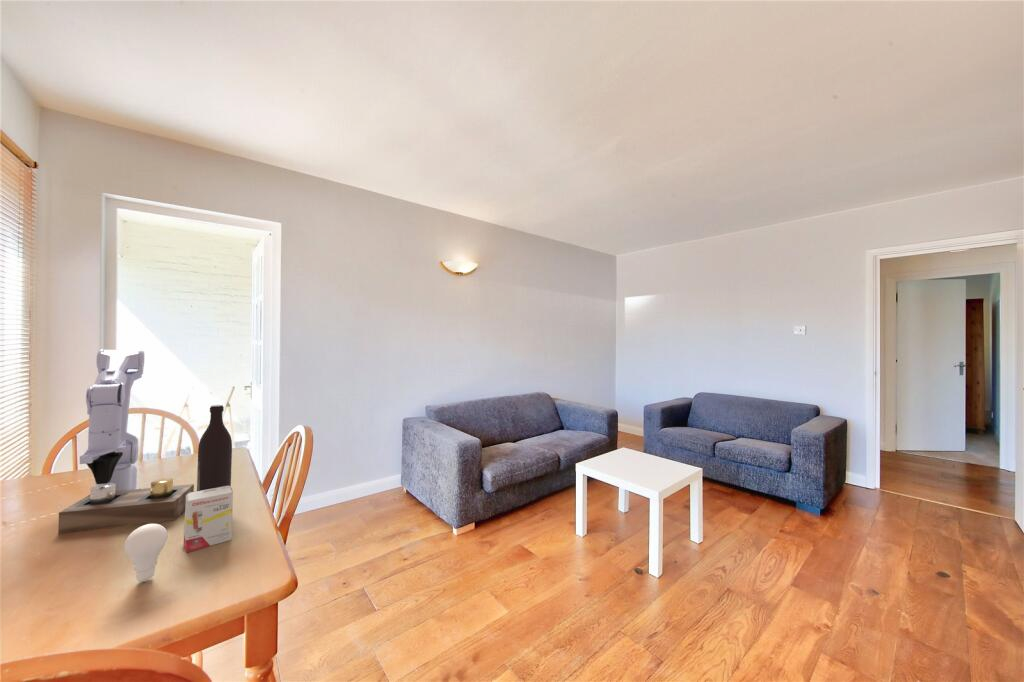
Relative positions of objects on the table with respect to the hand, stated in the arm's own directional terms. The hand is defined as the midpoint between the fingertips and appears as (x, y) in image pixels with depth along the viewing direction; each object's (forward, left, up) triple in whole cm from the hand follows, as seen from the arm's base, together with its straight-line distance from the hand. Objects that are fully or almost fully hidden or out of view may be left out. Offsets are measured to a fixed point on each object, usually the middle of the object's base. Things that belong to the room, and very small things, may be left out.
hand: (103, 483), depth 97 cm
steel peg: (0, 0, -6) cm, 6 cm away
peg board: (0, +6, -9) cm, 11 cm away
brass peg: (0, +12, -6) cm, 13 cm away
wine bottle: (+8, +26, -10) cm, 29 cm away
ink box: (+21, +29, -10) cm, 37 cm away
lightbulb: (+34, +23, -10) cm, 42 cm away
